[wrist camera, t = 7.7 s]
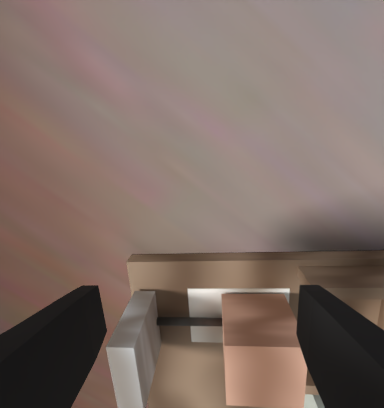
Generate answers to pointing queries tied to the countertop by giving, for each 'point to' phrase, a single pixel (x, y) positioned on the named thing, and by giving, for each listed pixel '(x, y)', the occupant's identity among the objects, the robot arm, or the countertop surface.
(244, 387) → the tethered block
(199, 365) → the lane rack
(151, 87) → the countertop surface
